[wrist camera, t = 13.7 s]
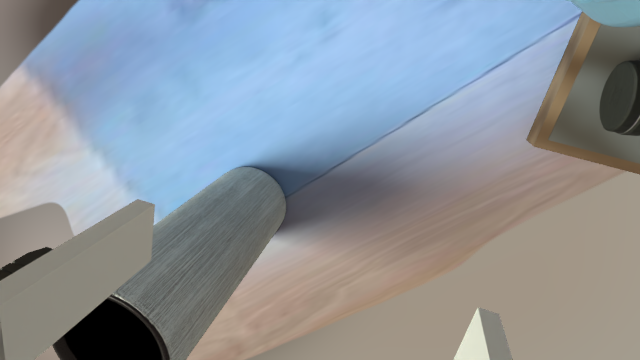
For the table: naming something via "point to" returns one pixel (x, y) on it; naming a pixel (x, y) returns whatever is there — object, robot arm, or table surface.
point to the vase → (183, 273)
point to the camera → (622, 99)
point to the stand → (587, 98)
